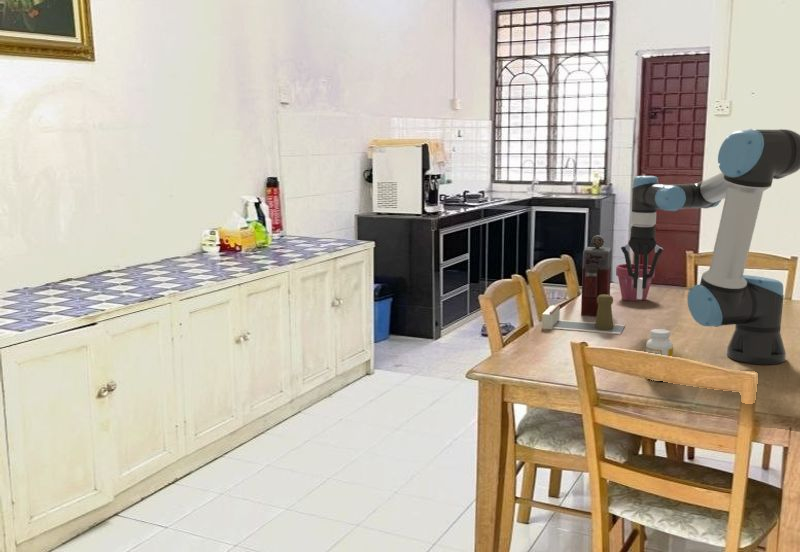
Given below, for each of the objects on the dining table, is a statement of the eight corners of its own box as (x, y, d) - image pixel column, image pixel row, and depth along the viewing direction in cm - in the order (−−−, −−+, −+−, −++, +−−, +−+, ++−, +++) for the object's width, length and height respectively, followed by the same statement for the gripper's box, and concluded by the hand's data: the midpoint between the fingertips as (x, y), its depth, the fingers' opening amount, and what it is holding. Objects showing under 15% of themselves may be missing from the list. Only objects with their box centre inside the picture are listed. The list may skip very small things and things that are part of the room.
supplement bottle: (666, 374, 209) (668, 327, 207) (675, 382, 203) (678, 333, 200) (641, 375, 209) (643, 328, 207) (649, 383, 202) (652, 334, 200)
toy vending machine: (580, 317, 276) (582, 237, 271) (584, 310, 286) (586, 233, 281) (606, 318, 273) (609, 238, 268) (609, 311, 283) (612, 234, 278)
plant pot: (657, 297, 307) (659, 265, 305) (648, 304, 295) (649, 270, 293) (621, 294, 315) (622, 262, 312) (610, 300, 303) (611, 267, 301)
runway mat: (620, 334, 251) (620, 333, 251) (551, 328, 260) (551, 327, 260) (625, 326, 262) (625, 325, 262) (558, 320, 271) (558, 319, 271)
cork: (592, 328, 258) (593, 295, 256) (597, 324, 263) (598, 292, 261) (611, 330, 255) (612, 297, 253) (615, 326, 260) (616, 294, 258)
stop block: (551, 329, 259) (551, 312, 258) (541, 328, 260) (542, 311, 259) (559, 320, 272) (559, 303, 271) (550, 319, 273) (551, 303, 272)
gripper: (665, 224, 250) (661, 297, 254) (623, 223, 255) (620, 294, 259) (664, 227, 243) (659, 302, 248) (620, 225, 248) (617, 299, 253)
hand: (639, 298), depth 253 cm, fingers closed
